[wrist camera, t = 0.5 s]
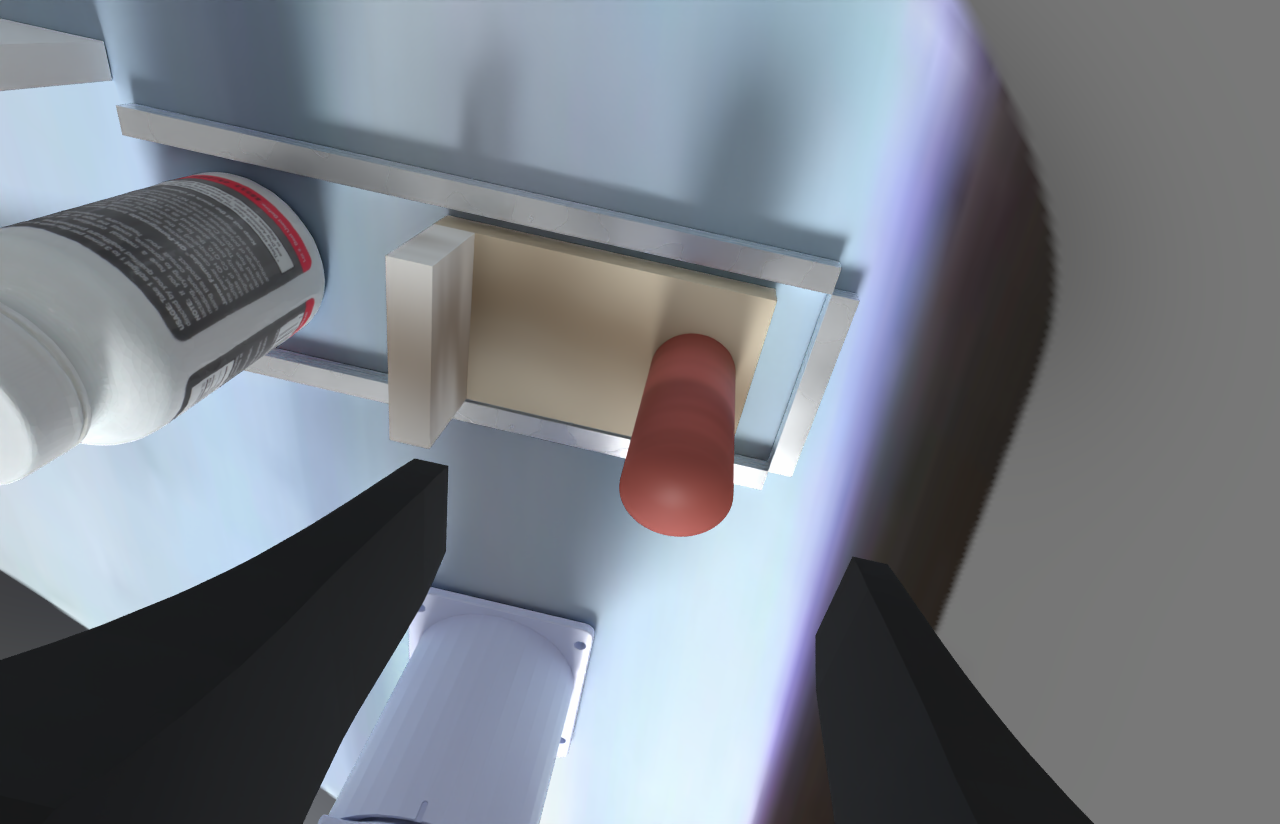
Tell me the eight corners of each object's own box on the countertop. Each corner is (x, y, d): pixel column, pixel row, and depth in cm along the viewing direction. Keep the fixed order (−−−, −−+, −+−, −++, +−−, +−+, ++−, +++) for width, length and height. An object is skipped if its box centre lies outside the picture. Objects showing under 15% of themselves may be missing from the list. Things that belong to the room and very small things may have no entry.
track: (783, 484, 23) (784, 495, 22) (183, 346, 23) (170, 353, 23) (866, 267, 19) (869, 274, 18) (133, 103, 19) (116, 105, 19)
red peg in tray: (727, 441, 22) (722, 595, 16) (442, 376, 22) (335, 504, 17) (775, 288, 19) (790, 407, 13) (447, 214, 20) (318, 299, 14)
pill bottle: (145, 160, 20) (-280, 259, 12) (313, 177, 20) (-5, 292, 11) (196, 324, 23) (-118, 498, 14) (343, 342, 22) (107, 532, 14)
